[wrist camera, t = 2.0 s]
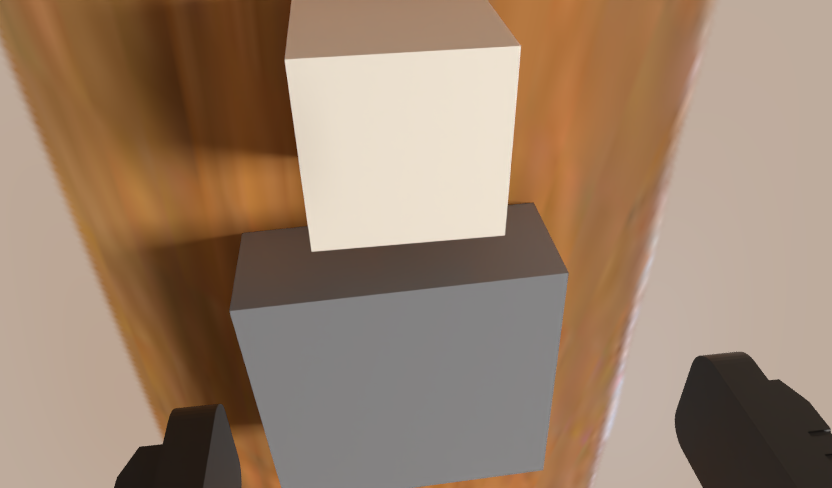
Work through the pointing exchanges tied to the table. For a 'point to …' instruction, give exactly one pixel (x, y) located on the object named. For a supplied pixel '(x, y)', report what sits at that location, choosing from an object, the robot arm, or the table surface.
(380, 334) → the slate block
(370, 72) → the cream block
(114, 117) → the table surface
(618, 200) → the table surface
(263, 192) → the table surface
